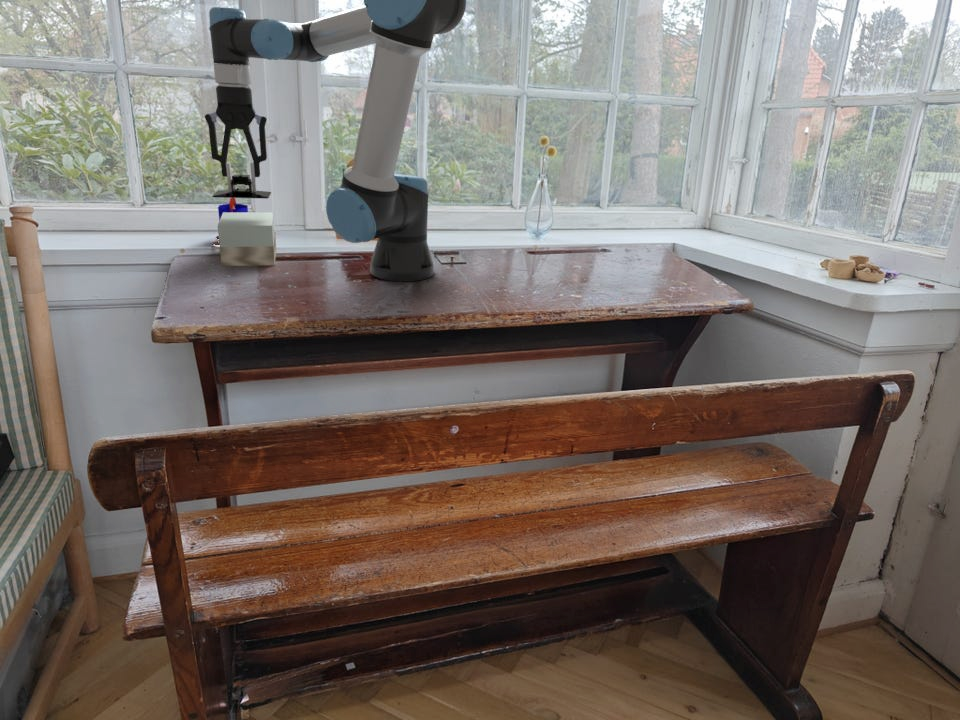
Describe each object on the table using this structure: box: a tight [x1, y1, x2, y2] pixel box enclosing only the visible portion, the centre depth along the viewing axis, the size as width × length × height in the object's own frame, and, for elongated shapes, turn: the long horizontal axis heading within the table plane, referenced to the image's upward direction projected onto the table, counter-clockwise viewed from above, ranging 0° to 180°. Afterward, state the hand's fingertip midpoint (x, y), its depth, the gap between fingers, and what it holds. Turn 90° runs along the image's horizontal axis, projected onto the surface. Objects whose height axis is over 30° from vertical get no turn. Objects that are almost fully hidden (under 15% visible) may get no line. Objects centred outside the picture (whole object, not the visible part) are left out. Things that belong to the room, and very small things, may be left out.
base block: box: [219, 231, 277, 267], centre depth 163 cm, size 12×15×5 cm
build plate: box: [212, 173, 272, 200], centre depth 156 cm, size 12×7×5 cm, turn 100°
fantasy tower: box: [213, 198, 249, 245], centre depth 175 cm, size 12×12×12 cm
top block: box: [217, 211, 275, 248], centre depth 161 cm, size 12×15×5 cm
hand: (242, 190), depth 158 cm, fingers closed on build plate, 5 cm apart
